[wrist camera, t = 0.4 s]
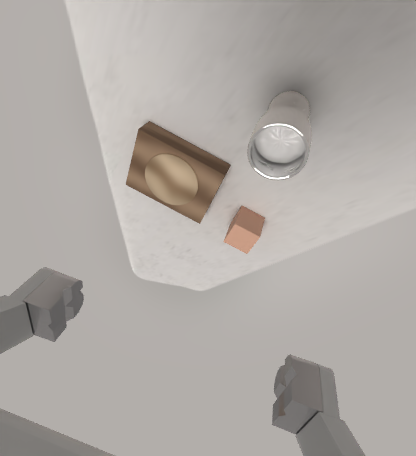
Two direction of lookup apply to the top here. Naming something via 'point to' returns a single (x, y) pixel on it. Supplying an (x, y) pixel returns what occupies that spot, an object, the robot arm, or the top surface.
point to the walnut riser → (174, 171)
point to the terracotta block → (244, 230)
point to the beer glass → (282, 137)
